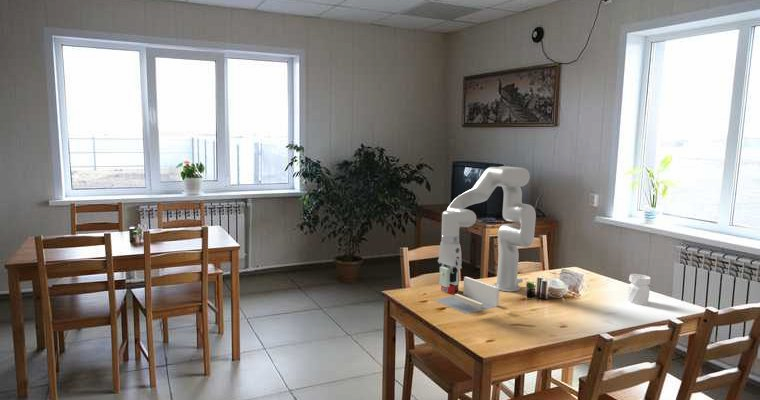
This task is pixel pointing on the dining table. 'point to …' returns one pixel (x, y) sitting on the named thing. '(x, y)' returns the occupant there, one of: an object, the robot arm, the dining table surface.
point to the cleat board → (473, 297)
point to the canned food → (450, 288)
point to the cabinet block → (447, 276)
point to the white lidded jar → (638, 289)
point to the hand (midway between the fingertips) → (448, 279)
